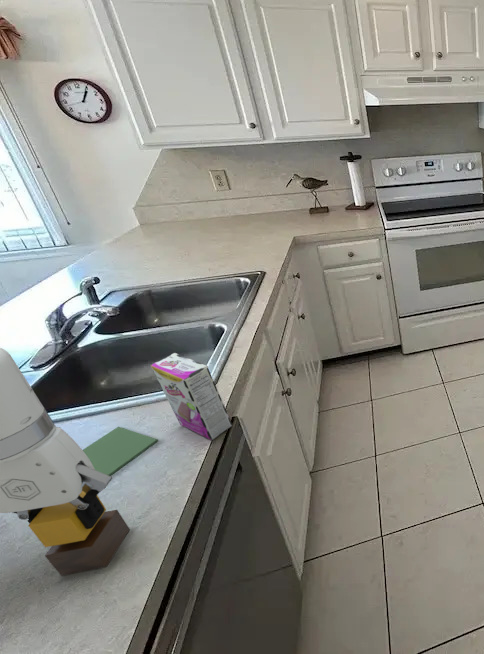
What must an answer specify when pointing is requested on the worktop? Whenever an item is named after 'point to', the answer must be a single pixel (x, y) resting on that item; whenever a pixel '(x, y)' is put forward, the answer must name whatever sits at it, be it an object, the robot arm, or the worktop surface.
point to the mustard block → (60, 524)
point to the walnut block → (90, 546)
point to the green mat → (117, 449)
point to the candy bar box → (192, 395)
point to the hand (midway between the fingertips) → (73, 522)
